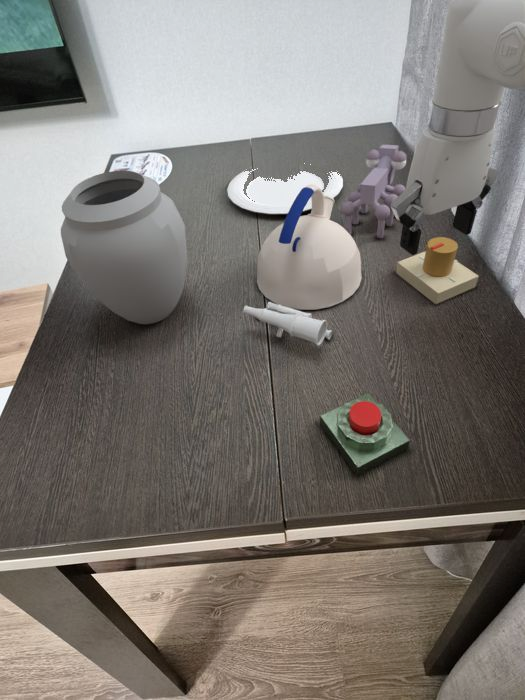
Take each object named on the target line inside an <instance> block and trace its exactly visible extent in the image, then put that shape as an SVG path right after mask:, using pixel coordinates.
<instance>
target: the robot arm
mask: <svg viewBox="0 0 525 700" xmlns="http://www.w3.org/2000/svg"><path fill="white" fill-rule="evenodd" d="M505 88H506V89H509V90H515V91H521V90H522V91H524V90H525V0H450V2H449V4H448V8H447V12H446V17H445V23H444V28H443V35H442V41H441V47H440V54H439V59H438V65H437V70H436V76H435V82H434V87H433V95H432V100H431V106H430V111H429V117H428V123H427V128H426V129H424V130H422V131H421V133H420V137H418V138H419V139H418V141H417V144H416V147H415V150H414V153H413V157H412V160H411V164H410V167H409V171H408V176H407V181H406V186H405V189H406V191H404V192H403V193H402V194H401V195H400V196H399V197H397V198H396V199H395V200H394V201H393V202H392V203H391V209H392V211H393V214H394V216H393V219H396V221H398V222H399V224H400V225H402V229H401V235H400V241H399V246H400V247H401V249H403V250H405V252H407V253H408V254H410V255H411V256H414V255H417V254H418V252H419V246H420V240H421V236H422V230H421V229H420V227H421V225H423V223H424V221H425V220H426V219H427V217H428V216H430V215H435V214H439V213H441V212H444V211H447V210H450V209H453V208H456V209H455V213H454V218H453V222H452V228H454V229H455V230H456V231H459V232H460V233H462V234H463V235H466V236H468V235H470V234H471V233H472V231H473V227H474V223H475V220H476V217H477V212H478V209H480V208H481V207H482V206H483V204H484V202H483V200H484V199H485V198H486V196H487V195H488V194H489V193H490V192H491V190H492V187H491V186H493V185H494V183H495V181H496V180H497V178H498V177H499V175H500V171H499V170H498V169H495V168H494V167H490V165H491V161H492V155H493V149H494V143H495V135H496V133H495V132H496V131H495V130H496V126H495V124H496V120H497V117H498V113H499V109H500V107H501V104H502V97H503V94H504V91H505ZM417 211H418V214H417V215H416V217H415V218H414V219H413V218H412V217H413V216H414V215H415V213H416V212H417Z"/></svg>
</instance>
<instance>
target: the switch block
mask: <svg viewBox="0 0 525 700" xmlns="http://www.w3.org/2000/svg"><path fill="white" fill-rule="evenodd" d="M361 401H367V402H371V403H373V404H375V405H376V406H377V407H378V408H379V409H380V411H381V422H380V426H379V428H378V430H377V431H375V432H374V433H372V434H360V433H358V432H356V431H354V430H353V429H352V428H351V426H350V424H349V412H350V408H351V407H352V406H353V405H354V404H355V403H357V402H361ZM319 425H320V426H321V429H322V430H323V431H324V432H325V434H326V435H327V436H328V438H329V439H330V441H331V442H332V443H333V446H334V447H335V448H336V449H337V450H338V452H339V454H340V455H341V456H342V457H343V459H344V460H345V462H346V463H347V465H348V466H349V467H350V469H351V470H352V471H353V473H354V474H355V476H359V475H361V474H364V473H366V472H367V471H370V470H371V469H372V468H374V467H377V466H379V465H380V464H382V463H384V462H386V461H388V460H390V459H392V458H394V457H397V456H398V455H400V454H401V453H403V452H405V451H407V450H408V448H409V445H410V442H411V440H410V438H409V437H408V436H407V435H406V434H405V432H404V431H403V430H402V429H401V428H400V427H399V426H398V425H397V424H396V422H395V421H394V420H393V418H392V414H391V413H390V412H389V410H388V409H387V408H386V407H385V405H383V404H382V403H380V402H378V401H377V400H376V399H375V398H374V397H373V396H372V395H371V394H370V393H369V392H366V393H365V394H363V395H361V396H359V397H357V398H354V399H351V400H350V401H347V402H345V403H344V404H341V405H339V406H338V407H335V408H333V409H331V410H329V411H327V412H325V413H323V414H321V415H320V416H319Z"/></svg>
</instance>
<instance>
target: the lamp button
mask: <svg viewBox="0 0 525 700" xmlns="http://www.w3.org/2000/svg"><path fill="white" fill-rule="evenodd" d="M380 422H381V411H380V409H379V408H378V407H377V406H376V405H375V404H373V403H371V402H367V401H361V402H357V403H355V404H354V405H353V406H352V407H351V408H350V412H349V424H350V426H351V428H352V429H353V430H354V431H356V432H358V433H360V434H372V433H374V432H375V431H377V430H378V428H379V426H380Z"/></svg>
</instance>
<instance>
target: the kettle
mask: <svg viewBox="0 0 525 700" xmlns="http://www.w3.org/2000/svg"><path fill="white" fill-rule="evenodd" d="M310 198H311V199H312V209H311V211H310V213H308V214H307V215H305V214H304V215H302V213H303V212H302V211H303V209H304V207H305V206H306V204H307V202H308V200H309V199H310ZM335 203H336V201H335V198H334V199H333V198H332V197H329V196H326V195H323V192H322V190H321V188H319V187H318V186H316V185H313V184H311V185H307V186H306V187H304V188H303V189H302V190H301V191H300V193H299V194H298V195H297V197H296V199H295V200H294V202H293V204H292V206H291V208H290V210H289V212H288V214H286V217H285V220H284V222H283V223H280V224H279V225H278V226H277V227H275V228H274V229H273V230H272V231H271V232H270V234H269V235H268V236H267V237H266V239H265V240H264V241H263V242H262V245H261V247H260V250H259V252H258V255H257V261H256V284H257V286H258V289H259V291H260V292H261V294H262V295H263V296H264V297H265V298H266V299H268V300H269V301H270V302H272V303H274V304H277V305H279V304H280V305H281V306H284V307H288V308H291V309H294V310H298V311H314V310H321V309H325V308H327V309H328V308H331V307H333V306H335V305H338V304H341V303H343V302H344V301H346V300H347V299H349V298H351V296H353V295H354V294H355V292H356V291H357V290H358V289H359V288H360V285H361V282H362V279H363V277H362V261H361V260H362V259H361V252H360V250H359V248H358V245H357V243H356V241H355V240H354V238H353V236H352V234H349V233H348V232H347V231H346V230H345V227H343V226H342V225H340V224H339V223H337V222H335V221H333V220H331V216H332V211H333V207H334V204H335Z"/></svg>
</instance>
